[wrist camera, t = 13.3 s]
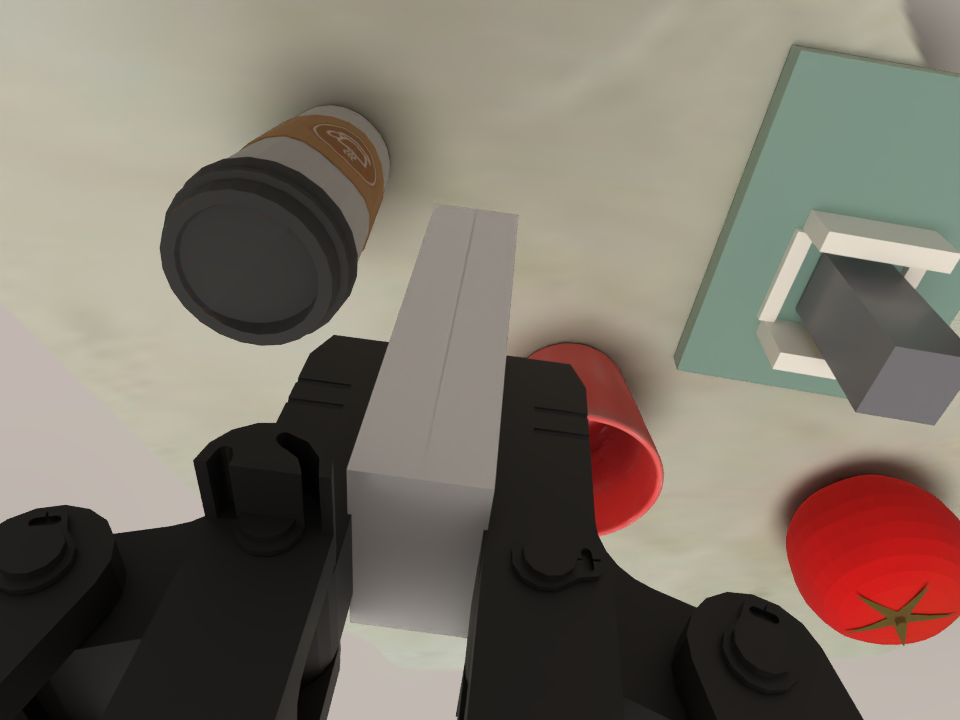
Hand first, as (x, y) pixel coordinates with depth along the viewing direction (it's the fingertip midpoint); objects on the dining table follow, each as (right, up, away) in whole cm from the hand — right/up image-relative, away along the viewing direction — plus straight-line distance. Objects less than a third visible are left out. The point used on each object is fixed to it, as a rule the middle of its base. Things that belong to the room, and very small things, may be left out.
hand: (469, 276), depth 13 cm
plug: (+22, +3, +28) cm, 35 cm away
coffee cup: (-8, +11, +28) cm, 31 cm away
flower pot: (+7, -3, +36) cm, 37 cm away
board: (+22, +5, +28) cm, 36 cm away
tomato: (+29, -13, +40) cm, 51 cm away
